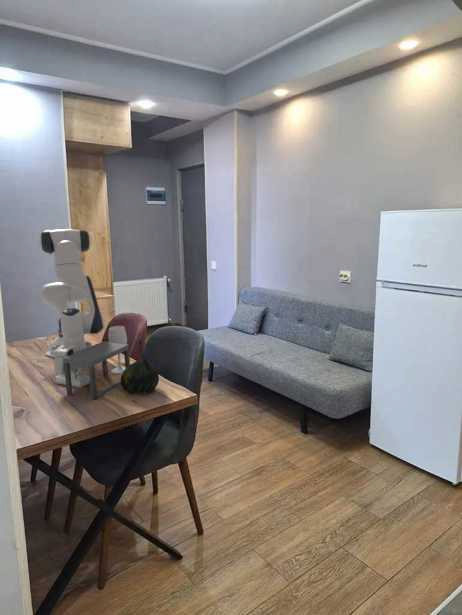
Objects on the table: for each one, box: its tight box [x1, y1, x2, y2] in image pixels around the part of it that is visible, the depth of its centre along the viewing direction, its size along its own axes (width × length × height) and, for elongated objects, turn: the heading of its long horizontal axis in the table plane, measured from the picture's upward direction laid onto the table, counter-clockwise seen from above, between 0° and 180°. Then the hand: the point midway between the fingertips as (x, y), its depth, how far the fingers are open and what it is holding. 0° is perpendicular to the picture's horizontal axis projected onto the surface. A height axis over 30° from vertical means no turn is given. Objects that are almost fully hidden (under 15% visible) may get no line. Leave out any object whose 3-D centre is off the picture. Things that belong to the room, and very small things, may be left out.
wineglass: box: [108, 325, 128, 375], centre depth 194 cm, size 9×9×21 cm
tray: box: [54, 372, 91, 389], centre depth 182 cm, size 14×6×5 cm, turn 65°
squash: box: [120, 358, 160, 395], centre depth 171 cm, size 14×15×15 cm
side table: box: [63, 341, 131, 401], centre depth 176 cm, size 14×24×16 cm, turn 158°
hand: (77, 377), depth 181 cm, fingers closed on tray
